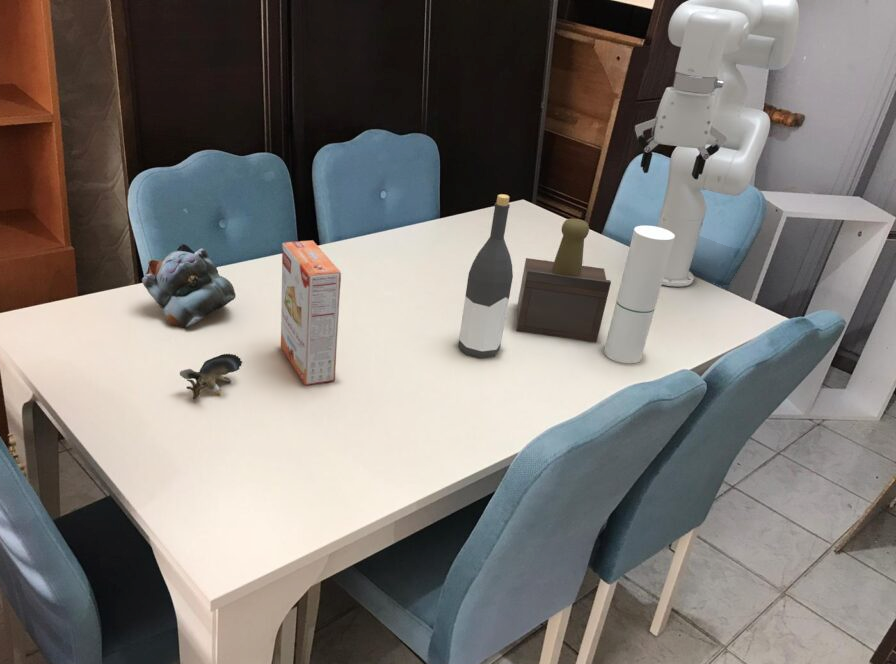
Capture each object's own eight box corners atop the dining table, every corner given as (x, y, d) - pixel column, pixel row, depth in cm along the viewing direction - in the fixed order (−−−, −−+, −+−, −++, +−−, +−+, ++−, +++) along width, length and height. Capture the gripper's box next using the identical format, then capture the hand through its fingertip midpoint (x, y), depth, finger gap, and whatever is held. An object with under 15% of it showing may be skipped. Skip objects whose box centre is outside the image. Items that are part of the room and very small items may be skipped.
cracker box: (278, 348, 154) (280, 240, 143) (309, 345, 156) (314, 238, 145) (302, 387, 143) (307, 273, 132) (335, 382, 145) (343, 270, 135)
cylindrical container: (642, 350, 166) (675, 230, 153) (639, 366, 160) (673, 242, 147) (605, 342, 167) (635, 222, 155) (601, 358, 161) (632, 234, 149)
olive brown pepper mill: (581, 281, 165) (593, 228, 159) (550, 276, 166) (561, 223, 160) (581, 270, 170) (592, 217, 164) (551, 265, 171) (561, 213, 165)
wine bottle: (476, 334, 165) (500, 185, 150) (508, 350, 161) (536, 198, 146) (449, 346, 160) (470, 193, 145) (481, 363, 156) (507, 206, 140)
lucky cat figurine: (172, 335, 155) (139, 264, 151) (161, 331, 166) (130, 265, 162) (245, 301, 159) (214, 232, 156) (230, 299, 170) (201, 235, 166)
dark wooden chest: (517, 306, 179) (527, 248, 172) (592, 316, 177) (606, 259, 171) (516, 330, 169) (527, 270, 162) (596, 342, 167) (611, 282, 161)
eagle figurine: (221, 404, 134) (252, 372, 140) (196, 369, 131) (228, 337, 138) (192, 412, 139) (223, 380, 145) (167, 378, 136) (199, 347, 142)
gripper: (736, 85, 159) (710, 174, 168) (643, 75, 161) (623, 163, 170) (744, 93, 153) (718, 185, 162) (648, 82, 154) (627, 174, 163)
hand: (669, 174), depth 166 cm, fingers open, 9 cm apart
